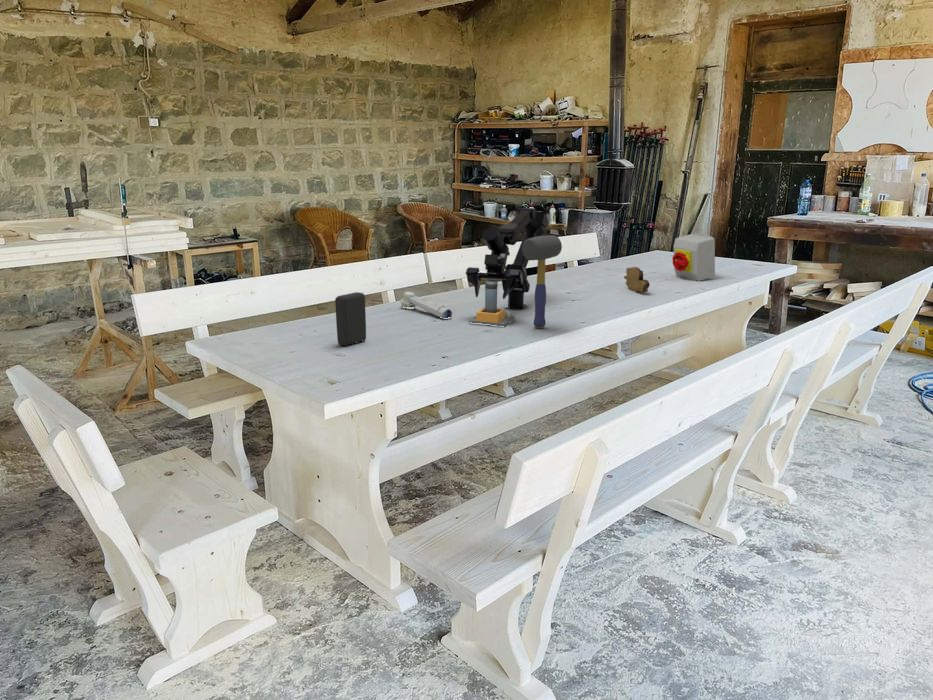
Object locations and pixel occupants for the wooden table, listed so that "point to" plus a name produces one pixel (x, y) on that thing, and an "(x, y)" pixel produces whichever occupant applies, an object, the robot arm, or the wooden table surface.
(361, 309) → the black upright block
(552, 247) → the rubber mallet
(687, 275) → the electrical switch box
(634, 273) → the wooden carving
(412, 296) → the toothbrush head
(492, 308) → the plug
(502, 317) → the panel
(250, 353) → the wooden table surface
